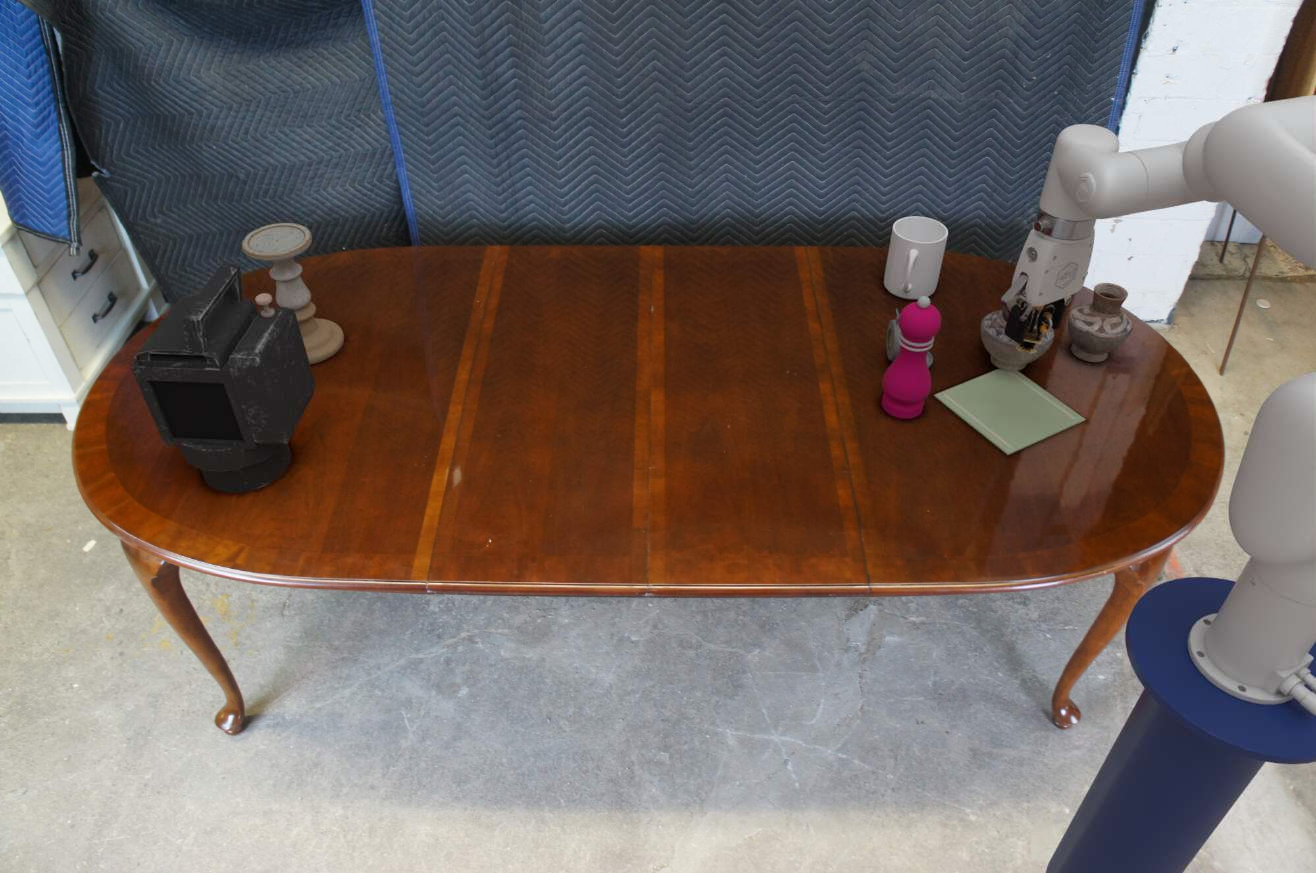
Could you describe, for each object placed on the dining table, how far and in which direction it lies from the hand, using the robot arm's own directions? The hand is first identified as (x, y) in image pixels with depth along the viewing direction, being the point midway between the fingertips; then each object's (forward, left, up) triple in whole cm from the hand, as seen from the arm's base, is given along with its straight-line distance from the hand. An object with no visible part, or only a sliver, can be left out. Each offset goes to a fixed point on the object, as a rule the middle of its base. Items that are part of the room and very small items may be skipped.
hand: (1031, 330), depth 143 cm
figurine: (0, 0, -3) cm, 3 cm away
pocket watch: (+17, +6, -15) cm, 24 cm away
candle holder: (+70, +90, -15) cm, 115 cm away
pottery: (+6, -15, -15) cm, 22 cm away
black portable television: (+44, +104, -15) cm, 114 cm away
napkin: (0, 0, -15) cm, 15 cm away
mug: (+33, -9, -15) cm, 38 cm away
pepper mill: (+8, +14, -15) cm, 22 cm away
